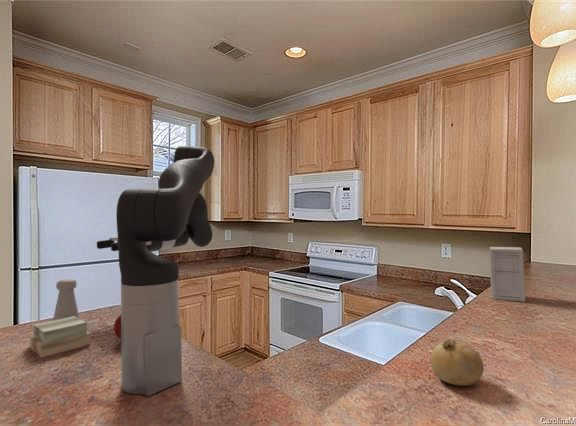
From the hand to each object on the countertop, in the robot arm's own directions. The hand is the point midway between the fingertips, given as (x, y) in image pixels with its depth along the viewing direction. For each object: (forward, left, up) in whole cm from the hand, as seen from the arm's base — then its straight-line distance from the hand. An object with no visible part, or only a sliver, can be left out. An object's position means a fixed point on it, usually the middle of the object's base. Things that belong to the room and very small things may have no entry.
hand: (104, 246), depth 91 cm
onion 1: (-21, +3, -21) cm, 30 cm away
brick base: (-11, +14, -21) cm, 27 cm away
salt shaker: (0, +9, -21) cm, 23 cm away
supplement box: (-84, -95, -21) cm, 129 cm away
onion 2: (-84, -23, -21) cm, 90 cm away
